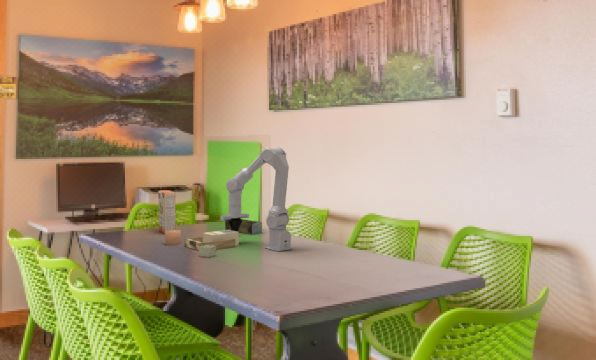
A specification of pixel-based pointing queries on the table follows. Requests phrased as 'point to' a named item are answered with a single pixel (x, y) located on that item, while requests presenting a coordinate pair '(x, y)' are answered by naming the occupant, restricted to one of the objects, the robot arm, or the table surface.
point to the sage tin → (207, 251)
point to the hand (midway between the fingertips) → (234, 234)
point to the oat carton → (221, 236)
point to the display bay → (208, 243)
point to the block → (173, 237)
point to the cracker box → (166, 210)
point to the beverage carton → (247, 227)
